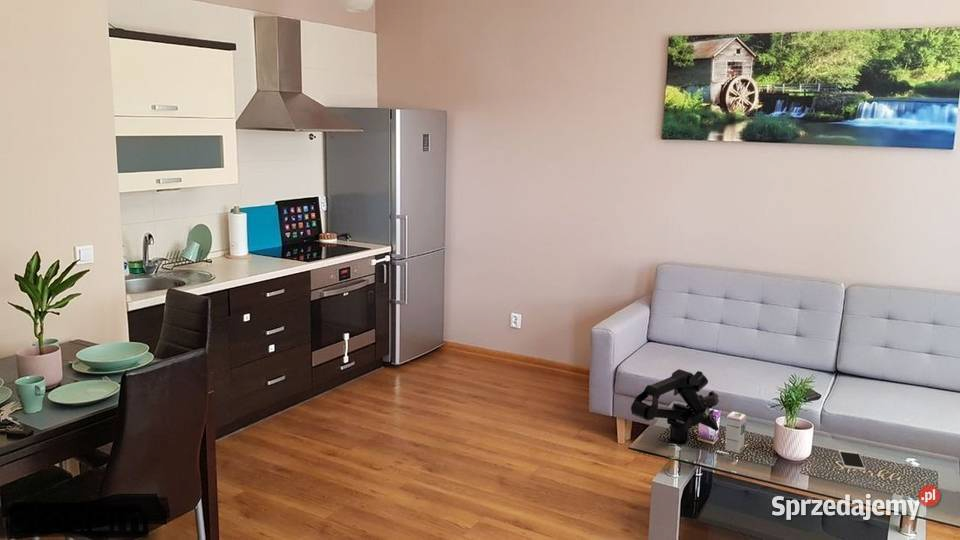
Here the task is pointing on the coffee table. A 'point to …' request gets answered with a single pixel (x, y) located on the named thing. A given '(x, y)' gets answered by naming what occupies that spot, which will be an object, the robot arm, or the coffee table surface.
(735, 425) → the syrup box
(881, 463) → the coffee table surface
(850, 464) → the smartphone
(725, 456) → the traps
